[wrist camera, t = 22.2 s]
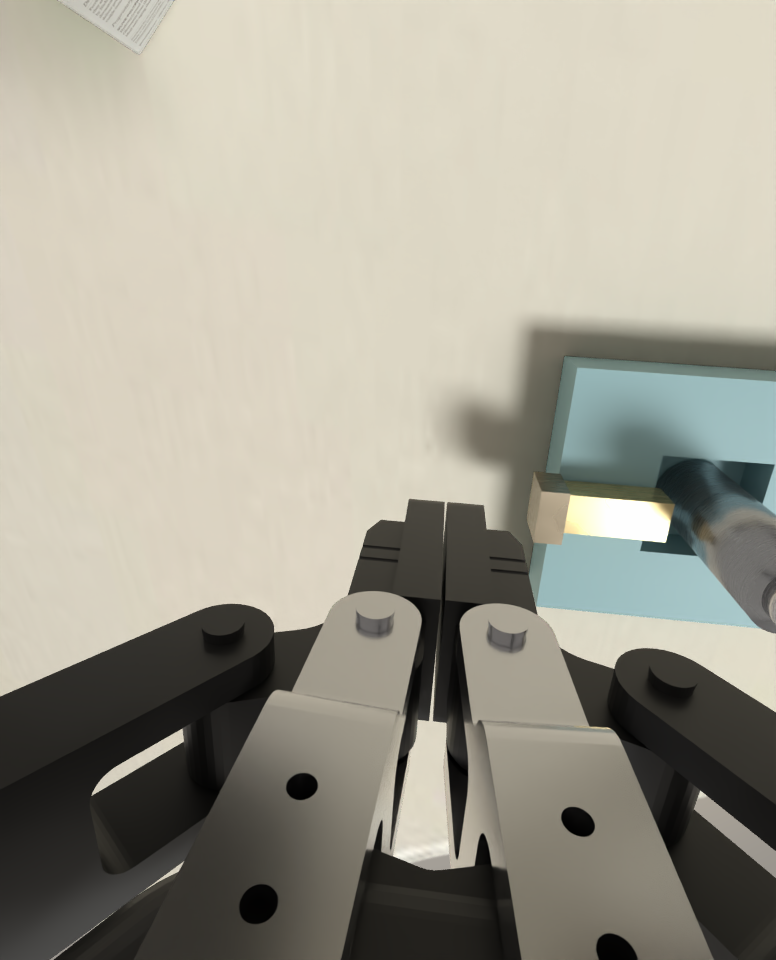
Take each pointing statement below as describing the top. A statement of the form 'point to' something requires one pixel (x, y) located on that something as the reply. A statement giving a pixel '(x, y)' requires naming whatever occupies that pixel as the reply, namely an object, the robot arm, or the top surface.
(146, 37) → the skincare box
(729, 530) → the metal capped cylinder
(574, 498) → the block hammer
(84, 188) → the top surface
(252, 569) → the top surface
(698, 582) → the dock
